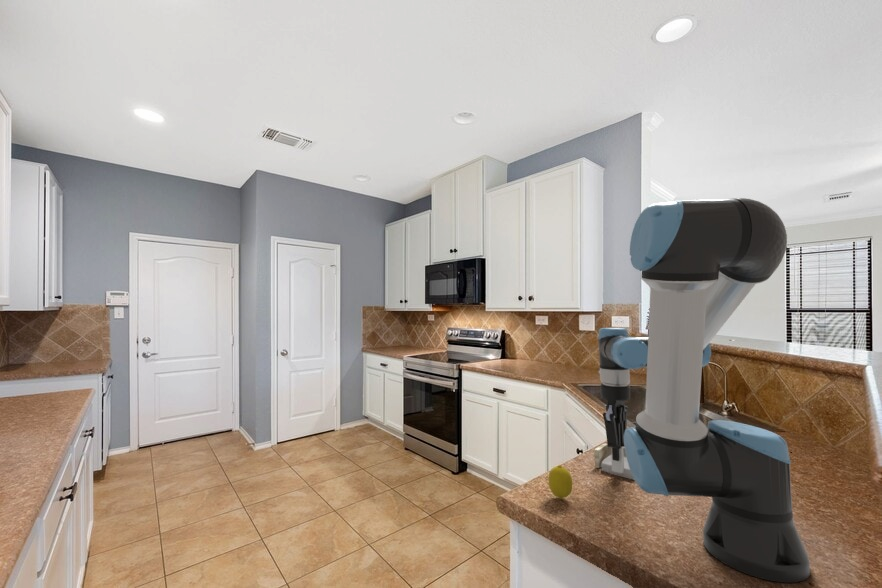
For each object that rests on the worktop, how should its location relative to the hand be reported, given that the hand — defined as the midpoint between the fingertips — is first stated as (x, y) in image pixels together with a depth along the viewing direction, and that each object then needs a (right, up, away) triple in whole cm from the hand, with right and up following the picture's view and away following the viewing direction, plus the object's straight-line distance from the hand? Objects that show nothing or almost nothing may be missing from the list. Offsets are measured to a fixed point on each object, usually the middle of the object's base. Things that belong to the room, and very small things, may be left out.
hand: (618, 471), depth 105 cm
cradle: (+4, -2, +4) cm, 6 cm away
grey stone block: (+2, -2, +3) cm, 5 cm away
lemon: (-19, -1, -12) cm, 23 cm away
